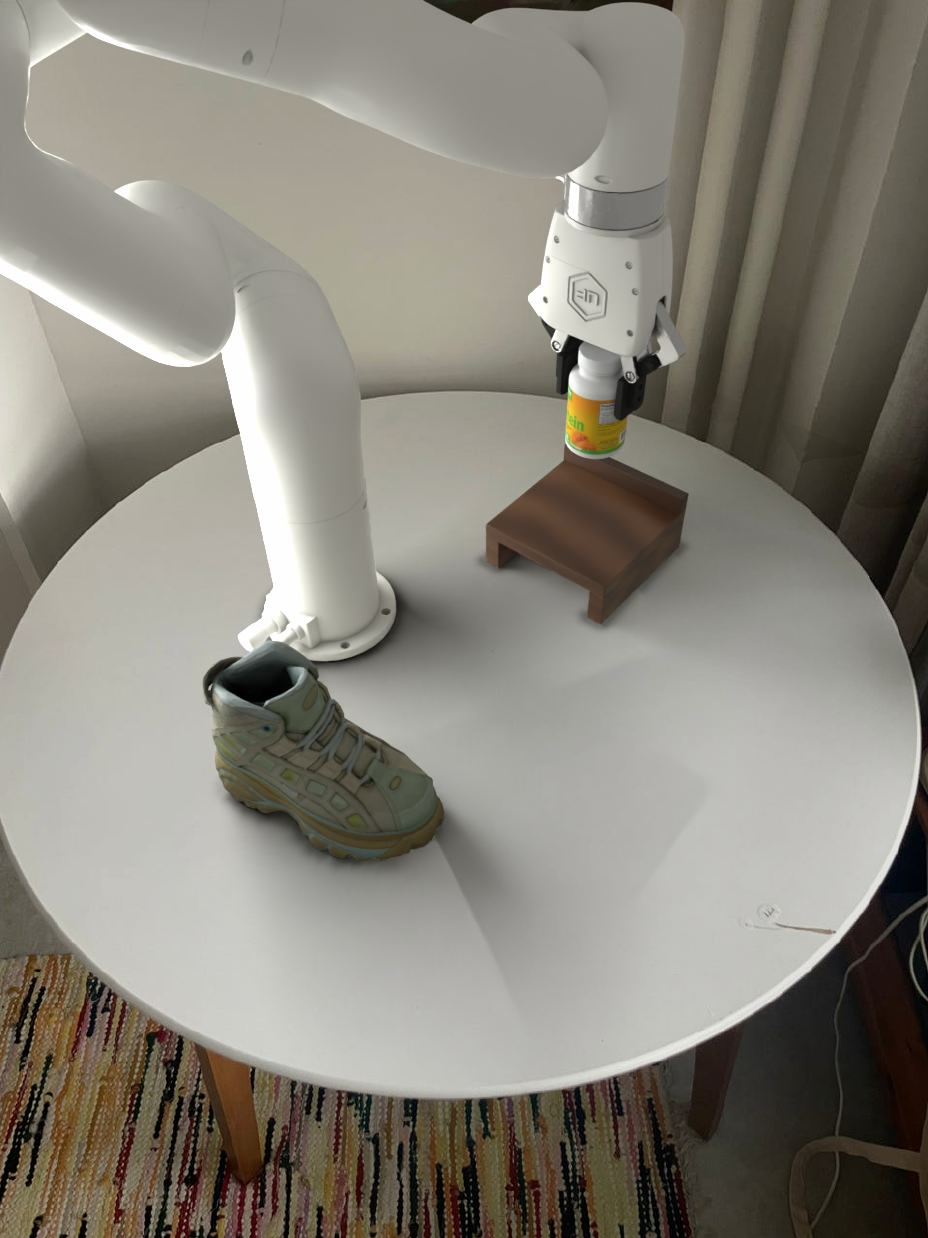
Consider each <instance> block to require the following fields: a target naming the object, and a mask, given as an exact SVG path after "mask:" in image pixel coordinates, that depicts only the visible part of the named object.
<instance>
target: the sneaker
mask: <svg viewBox="0 0 928 1238" xmlns="http://www.w3.org/2000/svg"><path fill="white" fill-rule="evenodd" d="M319 678H320V673H319V669H318V667H317V666H316V665H315V664H314V663H313V662H312V660H308V659H307V658H306V657H305V656H304V655H302V654H301V653H300V652H298V651H297V650H295V649H294V648H292V647H291V646H289V645H288V644H286V643H283V642H280V641H276V640H272V639H271V640H266V641H264V642H263V643H262V644H260V645H259V646H258V647H257V648H255V649H254V650H253V651H251V652H250V651H249V653H247V654H246V655H244V656H231V657H226V658H222V659H220V660H218V661H216V662H214V663H213V664H212V665H211V666H210V668H209V669H207V671H206V673H205V674H204V675H203V677H202V681H201V685H202V698H203V701H204V704H205V705H207V706H209V707H211V711H212V714H211V716H212V717H211V718H212V728H211V733H212V734H211V735H212V739H213V743H214V745H215V756H214V757H215V758H214V764H215V769H216V771H217V772H218V777H219V779H220V781H221V783H222V786H223V788H224V789H225V791H227V792H229V793H230V795H231V797H232V798H233V799H234V800H235V801H236V802H243V803H244V804H245V806H246V807H248V808H251V809H254V810H256V809H257V810H258V811H259V812H260V813H262V814H263V813H264V814H270V813H273V812H280V811H282V812H284V813H286V814H288V815H289V816H290V817H291V818H293V820H295V822H297V824H298V827H299V829H300V831H301V834H302V836H303V837H304V838H307V839H309V842H310V844H311V846H312V847H313V848H315V849H317V850H319V851H320V852H322V851H328V852H329V854H331V856H333V857H336V858H339V859H348V858H349V857H350V856H351V857H353V858H354V859H355V860H356V862H367V861H370V860H374V859H375V860H378V861H385V860H390V859H394V858H398V857H402V856H405V855H408V854H409V853H410V852H411V850H417V849H421V848H424V847H425V846H427V845H429V843H430V842H432V841H433V839H435V836H436V835H437V832H438V828H440V827H441V826H442V824H443V823H444V822H443V821H444V819H445V818H444V817H445V808H444V805H443V802H442V800H441V798H440V797H439V796H438V794H437V791H436V789H435V786H434V779H433V778H432V777H431V775H428V774H427V773H426V772H425V771H424V770H423V769H422V768H421V767H420V766H419V765H418V764H417V763H416V762H414V761H413V760H412V759H411V758H410V757H409V756H408V755H407V754H406V753H405V752H403V750H402V751H401V750H400V749H398V748H396V747H394V746H392V745H391V744H390V743H388V742H387V741H386V740H384V739H382V738H381V737H378V736H376V735H374V734H372V733H370V732H368V731H367V730H365V729H363V728H362V727H361V726H359V725H358V724H356V723H354V722H352V720H349V719H348V718H346V717H345V712H344V710H343V707H342V706H341V705H340V703H339V702H338V701H337V700H336V699H335V698H332V696H331V693H330V691H329V689H328V687H327V685H325V683H323V681H321V680H319ZM209 688H210V689H209Z"/></svg>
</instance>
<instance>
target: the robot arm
mask: <svg viewBox="0 0 928 1238" xmlns="http://www.w3.org/2000/svg"><path fill="white" fill-rule="evenodd" d="M87 33H88V34H89V35H90V36H92V37H94V38H96V39H98V40H100V41H103V42H106V43H108V44H112V45H114V46H117V47H120V48H123V49H126V50H130V51H133V52H137V53H141V54H144V55H148V56H151V57H156V58H160V59H163V60H167V61H170V62H174V63H178V64H181V65H185V66H190V67H194V68H198V69H201V70H205V71H208V72H212V73H215V74H219V75H223V76H227V77H231V78H234V79H239V80H242V81H245V82H246V81H247V82H250V83H254V84H257V85H260V86H264V87H266V88H272V89H275V90H279V91H281V92H285V93H289V94H293V95H296V96H300V97H303V98H306V99H309V100H311V101H313V102H314V103H318V104H319V105H322V106H324V108H327V109H329V110H331V111H333V112H335V113H337V114H339V115H341V116H343V117H345V118H347V119H350V120H353V121H354V122H358V123H361V124H363V125H366V126H367V127H370V128H373V129H376V130H377V131H380V132H382V133H384V134H385V135H389V136H391V137H393V138H395V139H398V140H400V141H402V142H405V143H407V144H410V145H412V146H415V147H417V148H419V149H421V150H424V151H427V152H429V153H432V154H434V155H436V156H437V155H438V156H441V157H443V158H447V159H449V160H452V161H456V162H460V163H463V164H467V165H470V166H474V167H479V168H482V169H486V170H490V171H494V172H497V173H498V172H499V173H503V174H506V175H510V176H515V177H519V178H523V179H524V178H525V179H531V180H544V179H548V180H549V179H554V178H555V180H556V181H557V182H560V183H562V185H564V200H562V201H559V202H558V203H557V204H556V206H555V208H554V212H553V216H552V218H551V223H550V226H549V231H548V234H547V239H546V244H545V249H544V255H543V256H544V257H543V263H542V269H541V271H542V272H541V278H540V279H541V281H540V285H538V286H537V287H536V288H535V289H534V290H533V291H532V292H531V293H529V295H528V296H527V300H528V303H529V304H530V305H531V307H532V309H533V310H534V311H535V312H536V314H537V316H538V317H540V319H541V320H540V321H541V324H542V326H543V328H544V329H545V331H546V332H547V334H548V336H549V337H550V339H551V341H550V347H551V349H552V350H553V351H554V352H555V353H556V362H555V377H556V388H555V393H556V394H559V395H561V396H563V395H566V394H568V386H569V375H570V372H571V370H572V369H573V368H574V366H575V365H577V364H578V354H579V347H580V345H581V344H582V343H583V342H584V341H585V342H588V343H590V344H593V345H595V346H598V347H600V348H603V349H605V350H608V351H610V352H613V353H616V354H618V355H620V357H621V363H622V368H623V373H624V375H623V376H622V377H621V378H620V379H619V380H618V382H617V390H616V400H615V410H614V416H615V419H617V420H620V421H622V420H623V419H625V418H626V417H627V418H628V417H629V416H630V415H631V414H632V413H633V412H636V411H637V410H639V409H640V408H641V407H642V405H643V403H644V400H645V393H646V386H647V385H646V384H647V376H648V375H650V374H651V373H654V372H655V371H657V370H658V369H660V368H662V367H665V366H668V365H670V364H673V363H675V362H677V361H678V360H679V359H681V358H682V357H683V356H685V354H686V353H687V346H686V344H685V342H684V341H683V338H682V337H681V335H680V333H679V331H678V329H677V328H676V326H675V324H674V321H673V320H672V318H671V316H670V312H671V306H672V305H671V304H672V293H673V272H674V271H673V270H674V257H673V255H674V251H673V249H674V247H673V235H672V234H673V233H672V226H671V219H670V218H669V217H668V216H666V215H665V210H666V209H665V208H666V201H667V193H668V191H667V190H668V184H669V176H670V170H671V169H670V167H671V162H672V161H671V159H672V151H673V145H674V144H673V143H674V135H675V126H676V119H677V118H676V117H677V111H678V102H679V93H680V86H681V78H682V70H683V63H684V54H685V42H686V37H685V36H686V35H685V30H684V26H683V23H682V21H681V19H680V18H679V17H678V16H677V15H676V13H674V12H673V11H671V10H669V9H667V8H665V7H661V6H659V5H657V4H651V3H645V2H635V1H633V2H631V1H630V2H628V1H627V2H626V1H625V2H624V1H623V2H614V3H608V4H605V5H601V6H598V7H595V8H593V9H590V10H556V9H555V10H554V9H541V8H529V7H507V8H501V9H496V10H493V11H490V12H487V13H485V14H483V15H482V16H480V17H478V18H476V20H474V21H473V22H472V23H470V22H468V21H466V20H463V19H461V18H459V17H456V16H454V15H452V14H450V13H448V12H446V11H444V10H442V9H440V8H438V7H436V6H435V5H432V4H431V3H429V2H427V1H425V0H0V274H1V275H3V276H5V277H6V278H8V279H10V280H12V281H14V282H15V283H18V284H19V285H21V286H23V287H24V288H26V289H28V290H30V291H31V292H33V293H35V294H36V295H37V296H39V297H41V298H42V299H44V300H46V301H47V302H49V303H51V304H52V305H54V306H56V307H58V308H60V310H61V309H62V310H63V311H65V312H67V313H68V314H70V315H72V316H74V317H75V318H77V319H79V320H81V321H82V322H84V323H86V324H88V325H89V326H92V327H93V328H94V329H96V330H99V331H100V332H102V333H104V334H106V335H107V336H109V337H111V338H113V339H114V340H116V341H117V342H120V343H121V344H123V345H124V346H126V347H128V348H130V349H131V350H133V351H135V352H137V353H139V354H140V355H143V356H145V357H146V358H148V359H151V360H153V361H156V362H158V363H161V364H164V365H168V366H173V367H185V368H186V367H189V368H190V367H194V366H199V365H202V364H205V363H208V362H209V361H212V359H214V358H216V357H217V356H218V355H219V354H220V353H221V355H222V361H223V366H224V369H225V374H226V378H227V382H228V388H229V391H230V395H231V400H232V406H233V409H234V414H235V419H236V422H237V426H238V429H239V434H240V438H241V443H242V449H243V453H244V456H245V457H244V458H245V462H246V467H247V471H248V476H249V480H250V484H251V489H252V494H253V499H254V501H255V505H256V509H257V514H258V519H259V523H260V528H261V529H260V530H261V532H262V537H263V542H264V546H265V551H266V556H267V561H268V565H269V570H270V574H271V579H272V583H273V588H272V589H271V591H270V593H268V594H267V595H265V598H266V601H265V603H264V607H263V608H264V609H263V612H262V613H261V618H260V619H259V620H257V621H256V622H255V623H252V624H251V625H249V626H247V628H245V629H244V630H242V631H241V632H240V633H238V635H237V638H238V641H239V643H240V645H241V646H242V647H243V648H244V649H245V650H246V651H248V652H249V653H250V652H251V651H253V650H254V649H256V648H257V647H258V646H260V645H261V644H263V643H264V642H267V641H268V640H267V639H268V638H271V640H276V641H280V642H283V643H286V644H288V645H289V646H291V647H292V648H294V649H295V650H297V651H298V652H300V653H301V654H302V655H304V656H305V657H306V658H307V659H308V660H309V661H315V662H329V661H330V662H331V661H340V660H344V659H349V658H352V657H355V656H357V655H360V654H363V653H364V652H366V651H368V650H369V649H372V648H373V647H374V646H376V645H377V644H378V643H380V642H381V641H382V640H383V639H384V638H385V636H386V635H387V634H388V633H389V632H390V630H391V628H392V626H393V624H394V622H395V619H396V616H397V600H396V594H395V591H394V589H393V587H392V585H391V583H390V582H389V581H388V580H387V578H386V577H385V576H383V575H382V574H381V573H379V572H378V571H377V567H376V559H375V551H374V550H375V549H374V541H373V533H372V525H371V516H370V515H371V514H370V507H369V499H368V490H367V489H368V488H367V481H366V480H367V479H366V475H365V466H364V465H365V464H364V458H363V447H362V446H363V445H362V397H361V388H360V382H359V378H358V374H357V370H356V367H355V364H354V361H353V358H352V355H351V352H350V349H349V346H348V345H347V342H346V340H345V337H344V335H343V333H342V330H341V328H340V326H339V324H338V322H337V319H336V317H335V315H334V313H333V310H332V308H331V305H330V303H329V300H328V298H327V297H326V295H325V293H324V291H323V289H322V287H321V286H320V284H319V283H318V282H317V280H316V279H315V278H314V277H313V276H312V274H310V273H309V271H307V270H306V269H305V268H304V267H303V266H301V264H299V263H298V262H297V261H295V260H294V259H293V258H291V257H290V256H289V255H287V254H286V253H284V252H283V251H282V250H280V249H278V248H277V247H276V246H275V245H273V244H271V243H270V242H269V241H267V240H266V239H264V238H263V237H261V236H260V235H258V234H257V233H256V232H254V231H253V230H251V229H250V228H248V227H247V226H246V225H244V224H243V223H242V222H240V221H238V220H237V219H235V218H234V217H233V216H231V215H230V214H228V213H227V212H226V211H224V210H223V209H222V208H220V207H218V206H217V205H216V204H214V203H213V202H211V201H209V200H208V199H206V198H205V197H203V196H202V195H200V194H198V193H197V192H195V191H194V190H191V189H189V188H187V187H184V186H182V185H179V184H176V183H173V182H169V181H165V180H158V179H157V180H156V179H147V180H137V181H134V182H131V183H127V184H125V185H122V186H121V187H119V188H117V189H116V190H113V189H111V187H109V186H107V185H106V184H105V183H104V182H102V181H101V180H99V179H98V178H97V177H95V176H94V175H93V174H91V173H89V172H88V171H87V170H85V169H84V168H81V167H79V166H78V165H76V164H74V163H72V162H71V161H68V160H66V159H64V158H62V157H59V156H56V155H54V154H52V153H49V152H47V151H45V150H43V149H41V148H40V147H38V146H37V145H36V144H35V143H34V142H33V141H32V139H31V137H29V135H28V132H27V127H26V116H27V107H28V103H29V102H28V101H29V92H30V76H31V67H33V66H34V65H36V64H38V63H40V62H41V61H42V60H44V59H46V58H48V57H49V56H51V55H52V54H54V53H56V52H57V51H59V50H61V49H62V48H64V47H66V46H67V45H69V44H72V43H73V42H75V41H76V40H78V39H79V38H81V37H83V36H84V35H86V34H87ZM651 337H655V339H656V341H657V343H658V345H659V348H658V349H656V350H654V351H653V348H652V342H651Z"/></svg>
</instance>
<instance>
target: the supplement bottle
mask: <svg viewBox="0 0 928 1238" xmlns="http://www.w3.org/2000/svg"><path fill="white" fill-rule="evenodd" d="M623 375H624V373H623V368H622V363H621V357H620V355H618V354H616V353H613V352H610V351H608V350H605V349H603V348H600V347H598V346H595V345H593V344H590V343H588V342H585V341H584V342H583V343H582V344H581V345H580V347H579V354H578V364H577V365H575V366H574V368H573V369H572V370H571V372H570V375H569V386H568V392H567V405H566V417H565V418H566V419H565V432H564V434H565V435H564V438H565V439H564V440H565V444H567V446H568V448H569V449H570V450H571V451H572V452H574V453H575V454H577V455H579V456H581V457H584V458H589V459H603V458H608V457H611V458H612V457H613V456H615V455H617V454H618V453H619V452H620V451H621V450H622V449H623V447H624V445H625V441H626V440H625V439H626V435H627V434H626V433H627V423H628V416H627V417H626V418H625V419H623V420H622V421H620V420H617V419H615V416H614V410H615V400H616V390H617V382H618V380H619V379H620V378H621V377H622V376H623Z"/></svg>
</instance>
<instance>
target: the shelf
mask: <svg viewBox="0 0 928 1238" xmlns="http://www.w3.org/2000/svg"><path fill="white" fill-rule="evenodd" d="M688 499H689V492H687V491H685V490H682V489H680V488H677V486H674V485H672V484H669V483H667V482H665V481H663V480H661V479H658V478H656V477H654V476H652V475H650V474H648V473H646V472H643V471H641V470H639V469H637V468H635V467H632V466H631V465H628V464H626V463H623V462H622V461H619V460H617V459H615V458H614V457H613V458H612V456H611V457H608V458H603V459H589V458H584V457H581V456H579V455H577V454H575V453H574V452H572V451H571V450H570V449H569V448H568V446H567V444H566V443H564V448H563V460H562V461H561V462H560V463H559V464H557V465H556V466H555V467H554V468H552V470H550V471H548V472H547V473H546V474H545V475H544V476H543V477H541V479H539V480H537V482H536V483H534V484H532V486H531V487H529V488H528V489H527V490H526V491H525V492H523V493H522V494H521V495H519V496H518V497H517V498H515V500H514V501H512V502H511V503H510V504H509V505H507V506H506V507H505V508H504V509H503V510H501V511H500V512H499V513H497V514H496V515H495V516H494V517H493V518H491V519H490V520H489V521H488V522H487V523H486V524H485V562H486V563H488V564H490V565H492V566H494V567H495V568H497V569H499V568H500V567H502V565H504V564H505V563H506V562H507V561H509V560H510V559H511V558H512V557H513V556H514V555H516V553H518V554H519V555H521V556H524V557H525V558H527V559H529V560H530V561H532V562H535V563H536V564H538V565H540V566H542V567H544V568H546V569H547V570H549V571H551V572H553V573H555V574H557V575H559V576H560V577H562V578H564V579H566V580H568V581H570V582H572V583H573V584H575V585H577V586H578V587H581V588H583V589H585V590H587V591H588V592H589V594H588V604H587V613H586V614H587V615H586V617H587V618H588V619H589V620H592V621H593V622H595V623H597V624H599V625H602V624H603V623H604V622H605V621H606V620H607V619H608V618H609V617H610V616H611V615H612V614H614V612H615V611H616V610H617V609H618V608H619V607H620V606H621V605H622V604H623V603H624V602H625V601H626V600H627V599H628V598H629V597H630V596H631V595H633V593H634V592H635V591H636V590H637V589H638V588H639V587H640V586H641V585H642V584H644V582H645V581H646V580H648V578H649V577H650V576H651V575H652V574H653V573H654V572H655V571H657V569H659V568H660V567H661V565H662V564H663V563H665V561H667V559H669V558H670V557H671V555H673V554H674V552H676V550H677V549H679V547H680V544H681V538H682V533H683V527H684V521H685V516H686V509H687V506H688Z"/></svg>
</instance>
